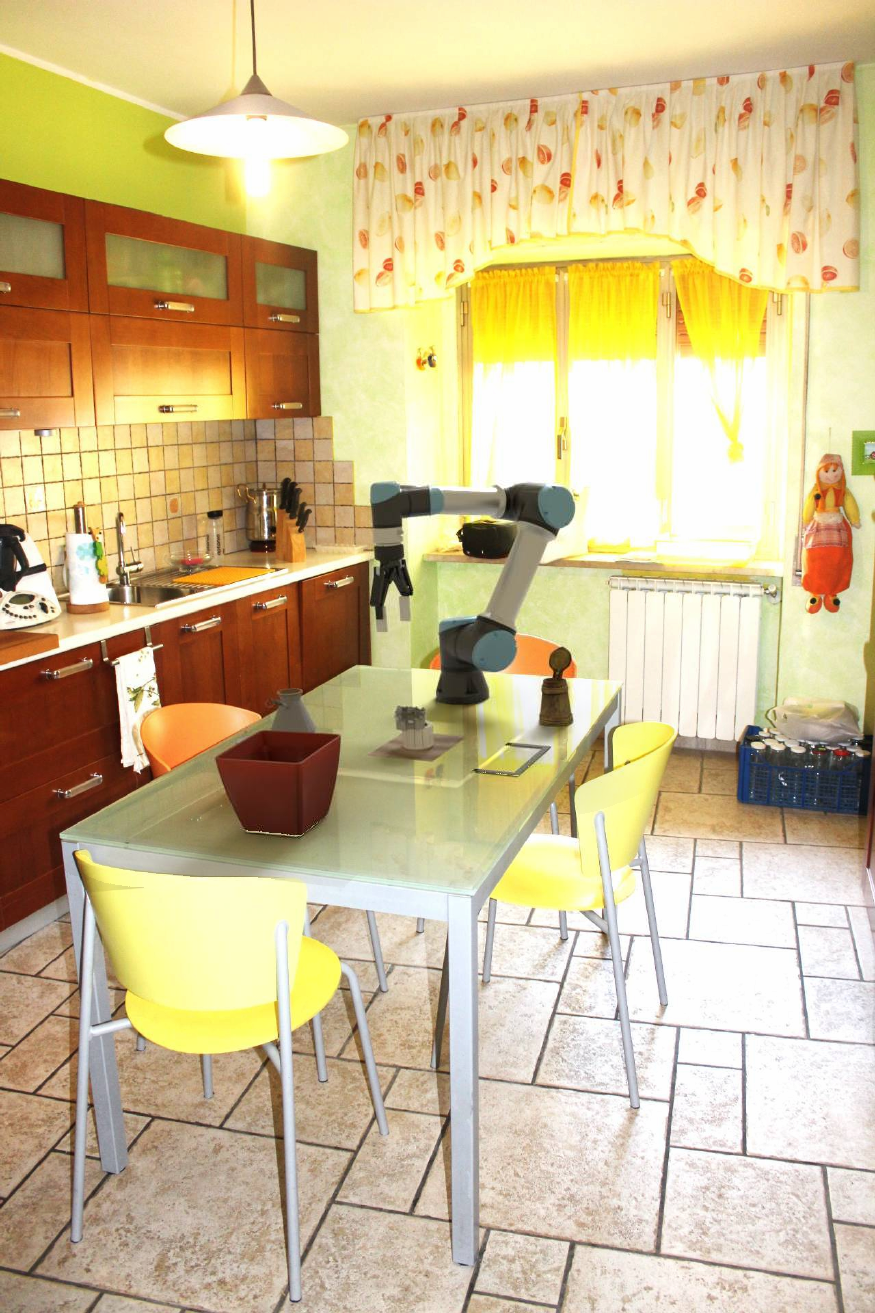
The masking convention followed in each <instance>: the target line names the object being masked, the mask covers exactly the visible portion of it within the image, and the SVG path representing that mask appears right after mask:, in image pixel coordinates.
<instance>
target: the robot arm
mask: <svg viewBox="0 0 875 1313" xmlns="http://www.w3.org/2000/svg"><path fill="white" fill-rule="evenodd" d="M369 488H370V489H369V490H370V492H369V496H370V497H369V503H370V510H371V511H370V512H371V521H372V541H373V544H375V545H374V546H373V552H374V553H373V554H374V560H376V561H378V562H379V566H374V567H373V579H372V584H371V589H370V590H371V592H370V597H369V606H370V607H372V608H373V607H374V612H375V613H374V614H375V626H376V627H375V628H376V633H388V618H387V606H386V605H385V602H386V598H387V596H388V591H389V588H390V585H391V584H392V583H394V584H395V588H396V589H397V591H398V592H399V595H400V596H398V606H399V616H400V617H399V619H400V622H411V620H412V616H411V602H410V597H412V596H413V595H414V587H413V583H412V581H411V577H410V574H409V570H408V566H407V560H406V559H405V547H404V546H405V545H404V544H403V541H404V530H403V519H409V518H417V517H431V516H434V515H435V516H436V515H449V516H452V515H454V516H455V515H457V516H458V515H460V516H489V517H490V518H492V519H493V520H503V521H510V522H515V523H516V524H515V525H516V526H517V528H518V533H517V534H516V537H515V540H514V542H513V544H512V545H511V546H512V547H511V548H510V551H509V554H508V556H507V558H506V560H505V563H504V566H503V568H502V570H501V572H500V575H499V577H498V579H497V583H496V584H495V587H494V589H493V592H492V594H491V596H490V599H489V601H488V604H487V606H486V608H485V610H484V611H482V612H480V613H478V614H477V615H467V616H458V617H450V618H446V619H443V620H441V621H440V622H439V624H438V632H437V634H438V642H439V658H440V674H439V678H438V681H437V685H436V688H435V699H436V700H437V701H438V702H440V703H445V704H452V705H462V704H464V705H465V704H473V703H478V702H482V701H485V700H487V699H488V698H489V697H490V689H489V684H488V682H487V679H486V677H485V675H484V672H488V673H499V672H502V671H504V670H506V669H508V667H510V666H511V665H512V664H513V663H514V660H515V659H516V657H517V653H518V645H517V640H516V634H517V632H518V630H517V627H516V620H517V618H518V616H519V613H520V610H521V609H522V606H523V604H524V601H525V600H526V597H527V594H528V592H529V589H530V587H531V584H532V582H533V580H534V578H535V575H536V573H537V569H538V568H539V565H540V563H541V561H542V558H543V555H544V553H545V551H546V548H547V546H548V544H549V543H550V542H552V541H555V540H556V539H557V537H558V534H559V532H560V530H561V529H563V528H565V527H568V526H569V525H570V524H571V522H572V521H573V519H574V517H575V512H576V503H575V500H574V497H573V494H572V492H571V491H570V490H569V489H568V488H567V487H565V486H564V485H562V484H557V483H553V482H548V483H545V482H532V481H531V482H530V481H529V482H528V481H527V482H520V483H511V484H510V483H509V484H494V485H492V486H490V487H469V486H442V485H440V486H439V485H436V484H435V485H428V484H427V485H410V484H408V485H407V484H400V482H398V481H394V480H393V481H380V482H379V481H378V482H373V483H372V484H371V486H370V487H369Z"/></svg>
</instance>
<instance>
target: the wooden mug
mask: <svg viewBox="0 0 875 1313" xmlns="http://www.w3.org/2000/svg"><path fill="white" fill-rule="evenodd" d="M548 658H549V660H548V666H549V668H550V669H551V670H552V672H553V673H552V676H551V677H546V678H543V680H542V683H541V688H540V691H541V701H540V712H539V715H538V716H539V718H538V721H539V724H540V725H543V726H547V727H560V726H563V727H564V726H567V725H571V724H572V723H573V722H574V714H573V713H572V709H571V703H570V702H571V701H570V695H569V685H568V683H567V679H566V678H563V674H564V671H565V670H567V669H568V668H569V667H570V665H571V663H572V661H573V657H572V653H571V652H570V651H569V649H568V648H566V647H564V646H563V645H562V646H560V647H557V648H556V649H554V650H553V651H552V652H551V653H550V654H549V657H548Z"/></svg>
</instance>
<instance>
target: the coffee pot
mask: <svg viewBox="0 0 875 1313" xmlns="http://www.w3.org/2000/svg"><path fill="white" fill-rule="evenodd" d="M303 692H304V691H303V689H301V688H294V687H292V688H286V689H285V688H284V689H281V690H278V691H276V694H277V695H278V697H279V698H280V699H279V700H278V699H275V698H269V699H268V700H266V701H265V702H264V704H265V705H264V706H266V707H267V708H269V706H268V705H267V704H266V703H267V702H268V701H269V702H270V703H271V704H272V706H270V708H272V707H274V706H278V707H277V710H276V712H275V716H274V719H273V720H272V721H273V722H272V725H271V728H270V730H273V731H291V732H310V733H316V730H317V727H316V725H315V723H314V721H313V719H312V717H311V716H310V714H309V711H308V709H307V707H306V706H305V704H304V702H303V700H302V694H303Z"/></svg>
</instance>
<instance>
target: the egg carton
mask: <svg viewBox="0 0 875 1313" xmlns="http://www.w3.org/2000/svg"><path fill="white" fill-rule="evenodd" d="M426 714H427V710H426V707H423V706H422V707H421V708H419V707H418V706H407V705H406V706H401V705H397V707H396V709H395V711H394V714H393V718H394V720H395V722H396V723H395V724H396V725H395V726H396V730H399V731H401V732H402V731H406V730H408V729H415V730H420V729H424V728H425V721H426Z"/></svg>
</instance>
